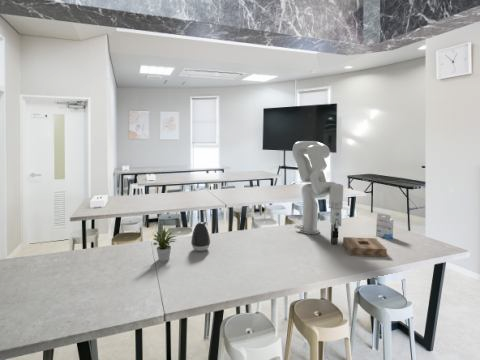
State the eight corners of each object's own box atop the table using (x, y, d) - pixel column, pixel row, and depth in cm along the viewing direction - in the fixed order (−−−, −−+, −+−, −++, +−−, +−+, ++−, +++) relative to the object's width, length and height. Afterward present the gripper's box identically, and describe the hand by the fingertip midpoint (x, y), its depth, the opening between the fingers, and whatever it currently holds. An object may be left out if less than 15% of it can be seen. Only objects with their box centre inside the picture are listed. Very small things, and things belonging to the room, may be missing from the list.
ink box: (393, 237, 191) (394, 214, 189) (389, 239, 188) (390, 215, 186) (379, 234, 197) (380, 211, 196) (375, 235, 194) (376, 212, 192)
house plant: (162, 268, 145) (161, 234, 143) (142, 262, 152) (140, 229, 150) (183, 258, 157) (182, 227, 155) (163, 253, 164) (162, 223, 162)
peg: (331, 244, 178) (331, 224, 177) (330, 242, 182) (330, 222, 181) (338, 244, 178) (339, 224, 176) (337, 242, 182) (337, 222, 180)
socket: (349, 255, 162) (350, 247, 161) (343, 243, 179) (343, 237, 179) (386, 256, 159) (386, 249, 159) (375, 245, 177) (376, 238, 177)
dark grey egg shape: (213, 248, 172) (213, 221, 170) (203, 254, 163) (203, 226, 161) (198, 245, 176) (197, 219, 175) (187, 251, 167) (187, 223, 165)
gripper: (345, 208, 168) (344, 241, 171) (339, 202, 185) (338, 232, 187) (331, 208, 169) (330, 240, 172) (326, 202, 186) (325, 232, 188)
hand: (334, 236), depth 179 cm, fingers closed on peg, 4 cm apart
